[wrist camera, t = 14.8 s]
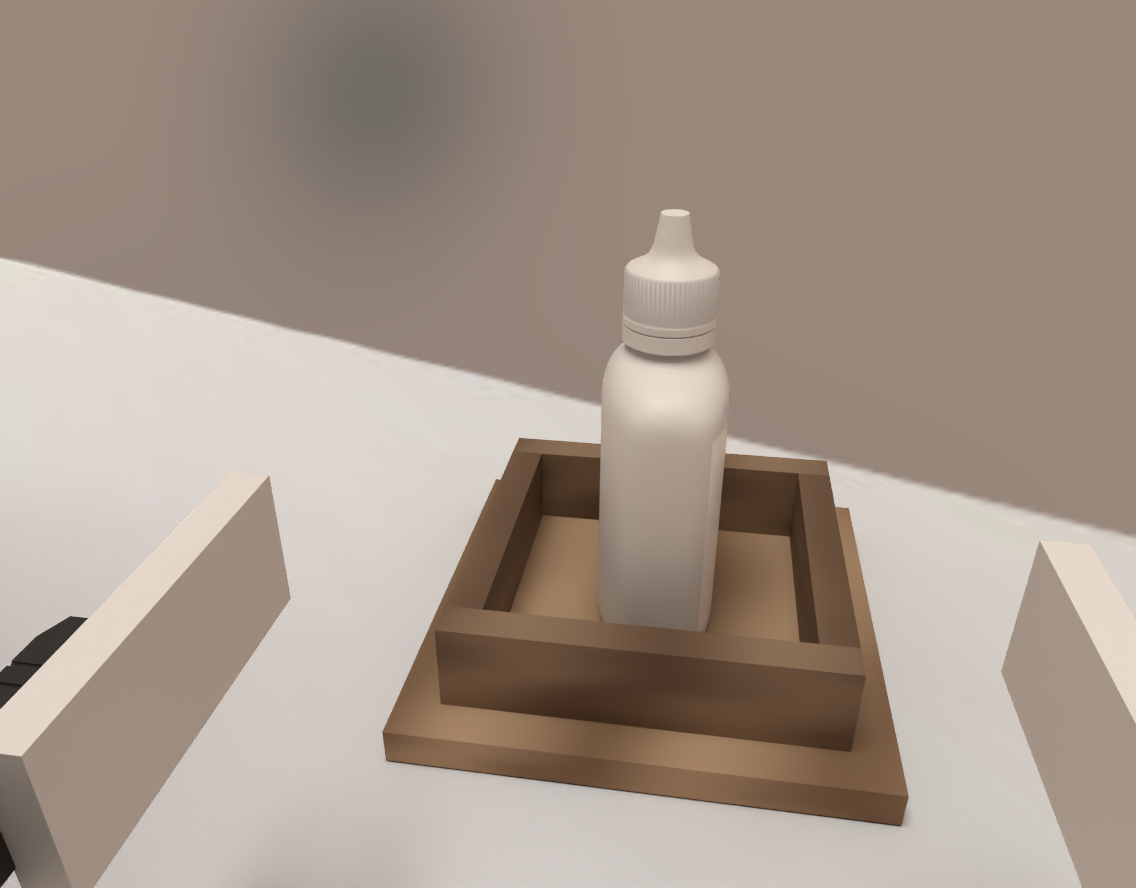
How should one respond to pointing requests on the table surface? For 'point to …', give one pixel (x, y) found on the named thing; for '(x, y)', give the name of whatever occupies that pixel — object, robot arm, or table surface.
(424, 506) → the table surface
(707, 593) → the eye dropper bottle
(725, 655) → the square wooden tray stand
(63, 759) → the robot arm
